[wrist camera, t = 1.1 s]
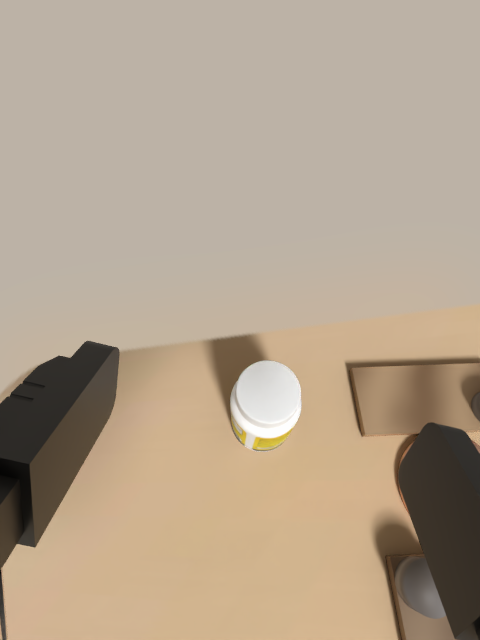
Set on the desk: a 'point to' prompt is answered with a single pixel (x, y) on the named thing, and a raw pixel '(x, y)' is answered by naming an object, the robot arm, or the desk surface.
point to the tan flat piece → (403, 419)
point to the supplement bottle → (265, 405)
